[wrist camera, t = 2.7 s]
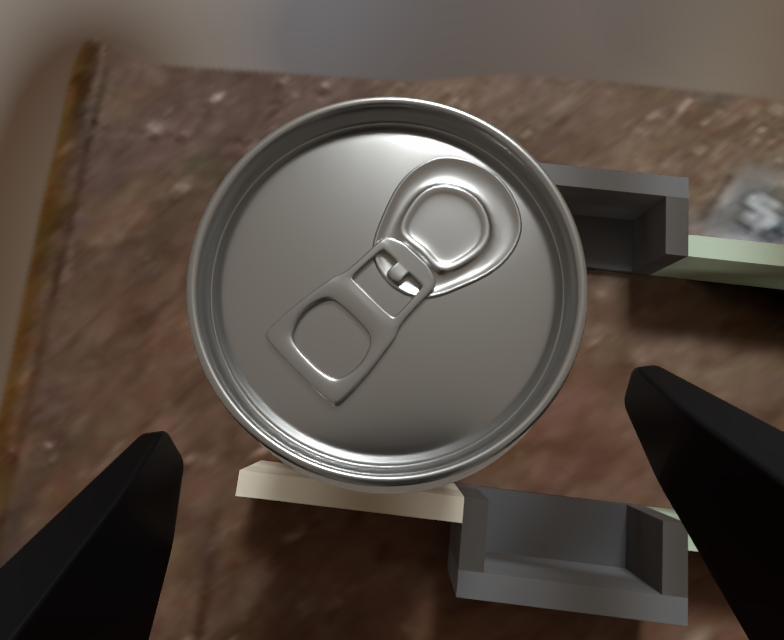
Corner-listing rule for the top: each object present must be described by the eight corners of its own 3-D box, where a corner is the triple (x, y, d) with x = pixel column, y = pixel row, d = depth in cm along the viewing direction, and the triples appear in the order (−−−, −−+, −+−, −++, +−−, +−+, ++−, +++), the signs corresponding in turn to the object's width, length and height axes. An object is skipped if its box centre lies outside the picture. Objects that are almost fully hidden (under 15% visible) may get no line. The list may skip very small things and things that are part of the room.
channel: (248, 543, 17) (223, 567, 14) (306, 171, 20) (294, 137, 17) (848, 617, 16) (928, 655, 14) (827, 224, 19) (891, 198, 17)
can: (506, 355, 18) (717, 271, 6) (393, 477, 17) (391, 641, 6) (390, 246, 19) (383, -8, 7) (276, 358, 18) (57, 280, 6)
